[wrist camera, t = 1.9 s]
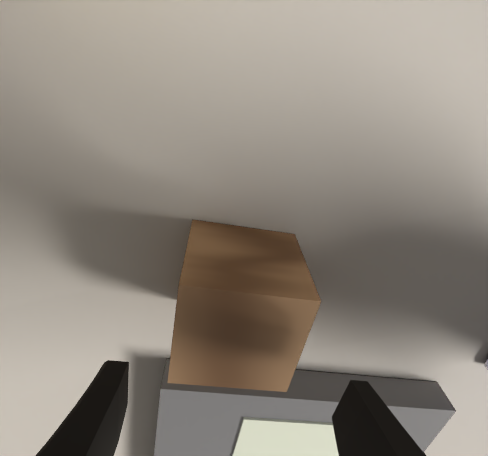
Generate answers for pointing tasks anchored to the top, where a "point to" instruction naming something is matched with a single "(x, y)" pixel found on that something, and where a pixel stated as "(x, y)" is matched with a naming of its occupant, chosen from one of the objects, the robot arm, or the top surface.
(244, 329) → the walnut cube
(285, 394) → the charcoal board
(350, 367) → the top surface
